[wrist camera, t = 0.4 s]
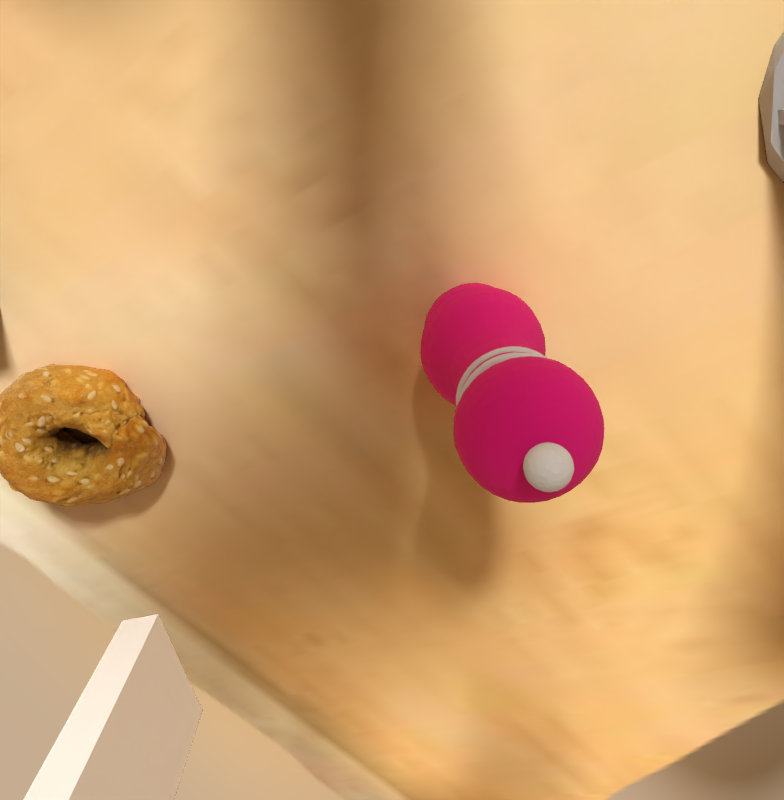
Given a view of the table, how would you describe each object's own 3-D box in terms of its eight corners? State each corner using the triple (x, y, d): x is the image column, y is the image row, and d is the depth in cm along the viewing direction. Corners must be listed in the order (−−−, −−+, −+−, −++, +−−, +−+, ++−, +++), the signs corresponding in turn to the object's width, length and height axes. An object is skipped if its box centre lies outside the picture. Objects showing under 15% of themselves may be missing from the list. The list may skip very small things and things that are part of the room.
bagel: (137, 517, 44) (109, 555, 39) (-8, 444, 42) (-55, 476, 37) (197, 411, 41) (175, 440, 37) (45, 328, 39) (1, 347, 34)
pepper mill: (447, 399, 41) (504, 594, 22) (396, 309, 38) (413, 443, 20) (543, 350, 40) (688, 512, 21) (497, 253, 37) (615, 341, 19)
